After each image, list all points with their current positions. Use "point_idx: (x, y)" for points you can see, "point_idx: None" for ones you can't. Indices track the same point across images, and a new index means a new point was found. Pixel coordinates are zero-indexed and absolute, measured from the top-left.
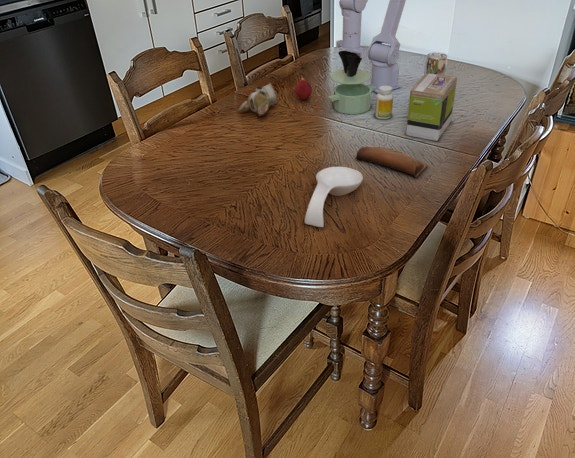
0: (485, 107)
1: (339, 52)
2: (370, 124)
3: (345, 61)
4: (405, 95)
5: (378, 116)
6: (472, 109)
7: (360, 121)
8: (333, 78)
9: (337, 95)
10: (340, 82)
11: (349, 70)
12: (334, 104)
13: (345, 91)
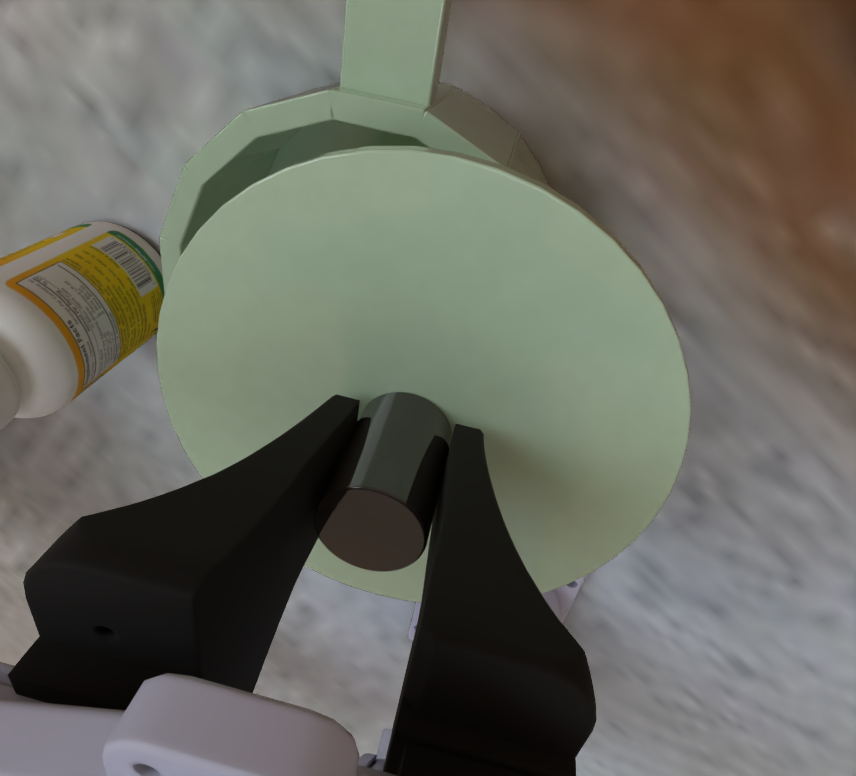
0: (16, 627)
1: (532, 681)
2: (32, 91)
3: (435, 552)
4: (310, 578)
5: (84, 224)
6: (16, 594)
7: (116, 70)
8: (497, 205)
9: (374, 95)
10: (300, 163)
11: (319, 429)
12: (470, 102)
13: None
